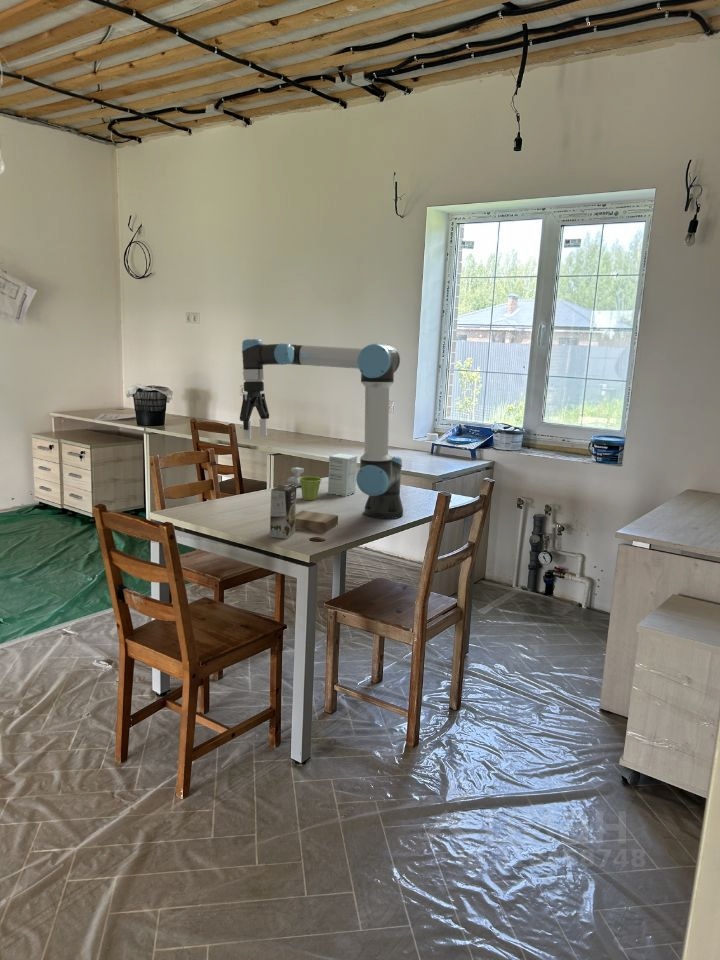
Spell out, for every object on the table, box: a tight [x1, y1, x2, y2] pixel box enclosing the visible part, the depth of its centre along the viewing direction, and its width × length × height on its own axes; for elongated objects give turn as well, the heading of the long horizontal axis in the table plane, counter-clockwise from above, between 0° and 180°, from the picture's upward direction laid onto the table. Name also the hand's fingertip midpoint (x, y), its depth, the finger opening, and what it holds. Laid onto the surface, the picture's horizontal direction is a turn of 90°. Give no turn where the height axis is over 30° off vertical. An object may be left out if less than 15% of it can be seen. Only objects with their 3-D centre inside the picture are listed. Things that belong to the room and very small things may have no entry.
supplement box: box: [327, 453, 358, 497], centre depth 293 cm, size 10×9×17 cm
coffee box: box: [269, 485, 297, 540], centre depth 225 cm, size 9×6×16 cm
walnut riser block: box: [295, 510, 339, 534], centre depth 239 cm, size 14×12×4 cm
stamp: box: [286, 466, 305, 486], centre depth 304 cm, size 9×7×8 cm
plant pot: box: [299, 476, 323, 501], centre depth 280 cm, size 9×9×9 cm
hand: (255, 437), depth 257 cm, fingers open, 13 cm apart
